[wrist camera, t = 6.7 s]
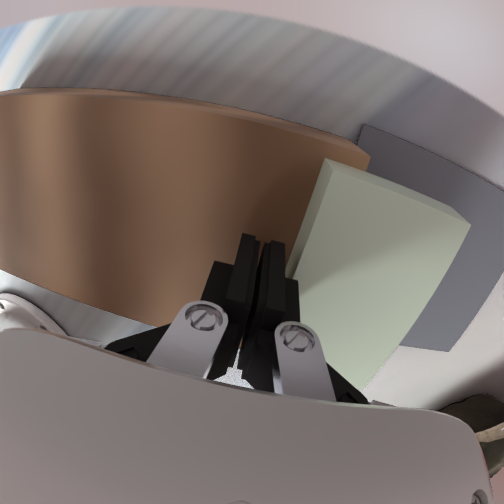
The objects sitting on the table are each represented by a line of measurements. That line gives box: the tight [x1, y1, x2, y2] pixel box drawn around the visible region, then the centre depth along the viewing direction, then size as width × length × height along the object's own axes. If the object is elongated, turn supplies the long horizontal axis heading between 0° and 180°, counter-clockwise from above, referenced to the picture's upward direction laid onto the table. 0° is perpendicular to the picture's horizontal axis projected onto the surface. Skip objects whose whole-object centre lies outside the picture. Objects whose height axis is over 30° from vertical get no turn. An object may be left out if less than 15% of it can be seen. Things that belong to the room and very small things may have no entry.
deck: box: [0, 88, 371, 348], centre depth 15 cm, size 20×11×4 cm, turn 77°
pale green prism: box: [285, 158, 471, 390], centre depth 13 cm, size 6×10×2 cm, turn 166°
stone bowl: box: [439, 394, 504, 478], centre depth 25 cm, size 25×25×9 cm
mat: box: [357, 124, 504, 352], centre depth 17 cm, size 14×13×1 cm
